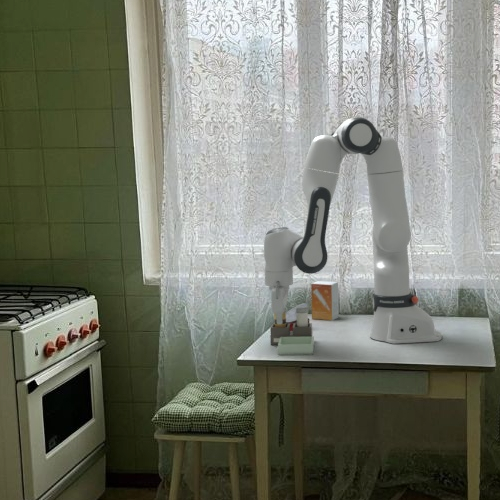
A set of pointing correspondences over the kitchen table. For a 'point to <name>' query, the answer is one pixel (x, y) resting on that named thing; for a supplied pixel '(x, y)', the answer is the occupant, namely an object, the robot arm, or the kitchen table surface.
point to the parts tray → (295, 345)
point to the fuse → (302, 316)
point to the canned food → (293, 316)
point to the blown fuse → (283, 320)
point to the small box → (325, 300)
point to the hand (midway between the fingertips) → (280, 322)
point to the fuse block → (289, 332)
